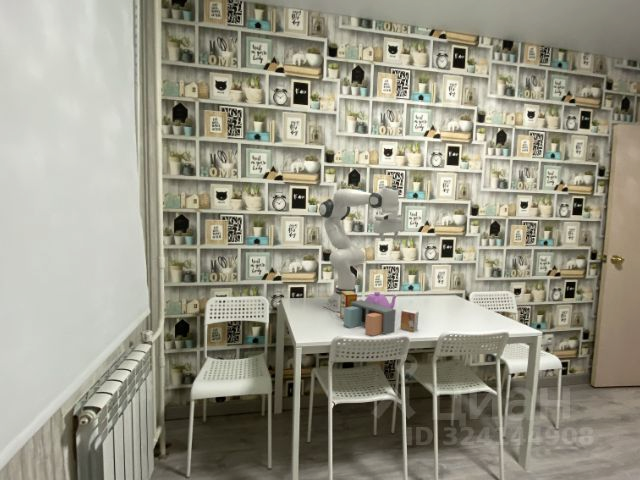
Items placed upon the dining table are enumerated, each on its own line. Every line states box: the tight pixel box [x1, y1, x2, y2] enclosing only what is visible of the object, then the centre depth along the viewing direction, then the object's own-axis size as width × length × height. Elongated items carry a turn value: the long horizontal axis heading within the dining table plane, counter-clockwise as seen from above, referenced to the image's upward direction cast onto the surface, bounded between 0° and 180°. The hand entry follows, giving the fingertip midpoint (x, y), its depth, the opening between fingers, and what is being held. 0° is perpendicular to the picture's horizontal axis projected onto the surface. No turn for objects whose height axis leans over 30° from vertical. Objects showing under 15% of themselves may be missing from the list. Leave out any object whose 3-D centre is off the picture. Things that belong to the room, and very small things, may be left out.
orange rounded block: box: [364, 312, 384, 337], centre depth 214 cm, size 9×5×10 cm, turn 132°
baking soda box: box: [339, 291, 358, 321], centre depth 239 cm, size 10×6×16 cm
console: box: [351, 299, 397, 335], centre depth 225 cm, size 8×25×12 cm, turn 42°
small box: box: [399, 308, 420, 333], centre depth 223 cm, size 8×6×10 cm
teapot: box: [364, 291, 399, 309], centre depth 251 cm, size 22×22×14 cm
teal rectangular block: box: [343, 306, 363, 329], centre depth 226 cm, size 9×5×10 cm, turn 132°
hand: (388, 240), depth 229 cm, fingers open, 8 cm apart
